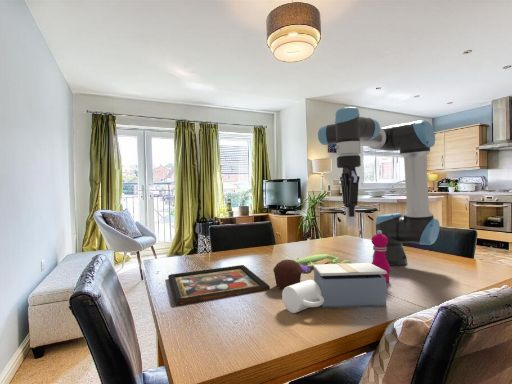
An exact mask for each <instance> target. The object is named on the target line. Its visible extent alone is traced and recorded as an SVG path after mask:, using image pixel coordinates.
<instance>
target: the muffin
mask: <svg viewBox="0 0 512 384" xmlns="http://www.w3.org/2000/svg"><path fill="white" fill-rule="evenodd" d="M294 260H295V259H283V260H281V261H279V262H278V263H276V265H275V266H274V268H273V271H272V272H273V274H274V279H275V284H276V288H277V289H279V290H281V291H283V290H284V288H285V287H287V286H290V285H294V284H297V283H300V282H301V279H302V278H301V277H302V273H303V272H302V271H303V269H302V267H301V264H299V263H297V262H295V261H294Z"/></svg>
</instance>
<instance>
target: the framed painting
mask: <svg viewBox="0 0 512 384" xmlns="http://www.w3.org/2000/svg"><path fill="white" fill-rule="evenodd" d="M167 279H168V284H169V288H170V291H171V295H172V297H173V303H174V306H175V307H178V306H184V305H189V304H196V303H202V302H207V301H213V300H218V299H223V298H229V297H235V296H239V295H247V294H251V293H256V292H262V291H263V292H264V291H268V290H270V288H271V285H269V284H268V283H267V282H266V281H264V280H263V279H262V278H260V277H259V276H258V275H257V274H255V273H254V272H253V271H252V270H251V269H249V268H248V267H247V266H246V265H244V264H239V265H233V266H224V267H217V268H210V269H203V270H202V269H201V270H195V271H194V270H193V271H186V272H180V273H179V272H177V273H171V274H168V276H167Z"/></svg>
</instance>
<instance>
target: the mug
mask: <svg viewBox="0 0 512 384" xmlns="http://www.w3.org/2000/svg"><path fill="white" fill-rule="evenodd" d="M281 299H282V303H283V304H284V307H285V308H286V310H287V311H289V313H291V314H296V313H298V312H301V311H304V310H307V309H308V308H309V309H310V308H317V307H320V306H322V304H323V303H324V298H323V297H322V294H321V290H320V287H319V286H318V284H317V283H316V282H315V281H314V279H307V280H303V281H300V283H297V284H294V285H290V286H287V287H285V288H284V290H282V295H281Z"/></svg>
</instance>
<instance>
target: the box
mask: <svg viewBox="0 0 512 384" xmlns="http://www.w3.org/2000/svg"><path fill="white" fill-rule="evenodd" d="M313 281H315V282H316V283H317V284H318V286H319V287H320V290H321V294H322V297H323V298H324V303H323V304H322V305H321V308H323V309H329V308H330V309H335V308H339V309H340V308H372V307H373V308H374V307H375V308H376V307H387V282H386V278H385V277H384V276H382V275H381V274H369V275H335V276H321V275H320V274H319V273H318V272H317V271H316V270H315V268H314V267H313Z"/></svg>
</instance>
